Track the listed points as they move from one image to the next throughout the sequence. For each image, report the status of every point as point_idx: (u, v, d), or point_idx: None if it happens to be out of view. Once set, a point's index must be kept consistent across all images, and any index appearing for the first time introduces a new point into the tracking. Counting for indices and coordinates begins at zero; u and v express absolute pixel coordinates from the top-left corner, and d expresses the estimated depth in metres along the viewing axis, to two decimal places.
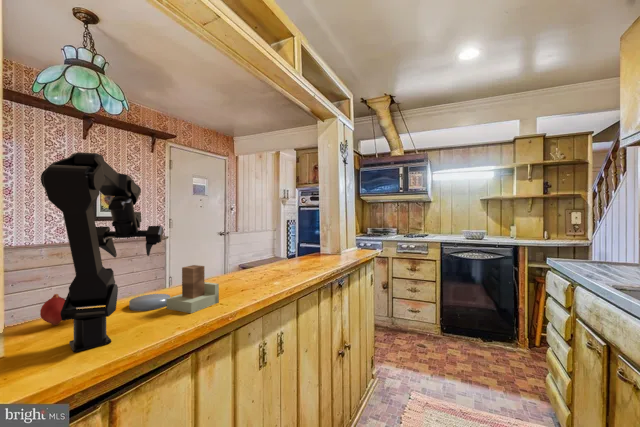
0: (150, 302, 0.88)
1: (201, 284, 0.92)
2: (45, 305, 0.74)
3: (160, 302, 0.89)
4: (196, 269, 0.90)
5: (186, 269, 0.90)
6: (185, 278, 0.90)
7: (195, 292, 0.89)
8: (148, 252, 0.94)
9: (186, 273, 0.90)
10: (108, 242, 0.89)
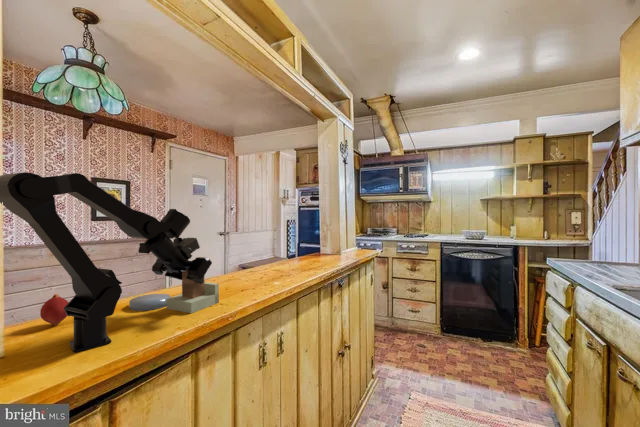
0: (150, 302, 0.88)
1: (201, 284, 0.92)
2: (45, 305, 0.74)
3: (160, 302, 0.89)
4: None
5: None
6: (185, 278, 0.90)
7: (195, 292, 0.89)
8: (197, 282, 0.90)
9: (186, 273, 0.90)
10: (175, 271, 0.89)
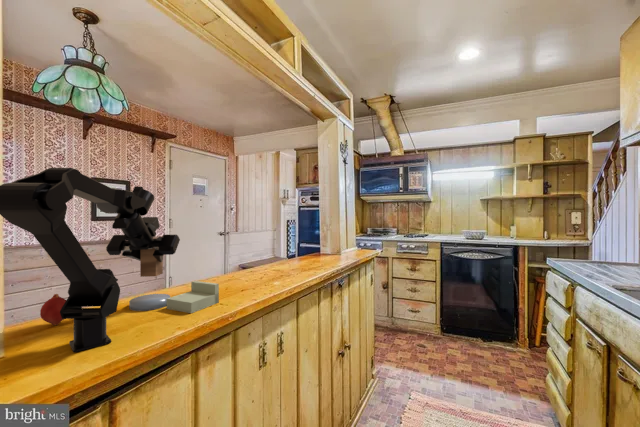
0: (150, 302, 0.88)
1: (160, 263, 0.93)
2: (45, 305, 0.74)
3: (160, 302, 0.89)
4: None
5: None
6: (145, 257, 0.90)
7: (156, 270, 0.91)
8: (159, 260, 0.91)
9: (146, 252, 0.90)
10: (134, 251, 0.88)
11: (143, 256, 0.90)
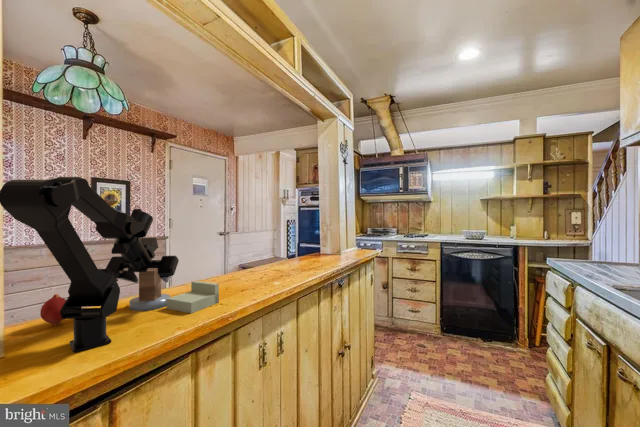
0: (150, 302, 0.88)
1: (159, 286, 0.93)
2: (45, 305, 0.74)
3: (160, 302, 0.89)
4: (156, 271, 0.91)
5: (145, 272, 0.90)
6: (143, 281, 0.90)
7: (155, 294, 0.91)
8: (165, 280, 0.91)
9: (145, 276, 0.90)
10: (125, 273, 0.88)
11: (142, 280, 0.90)
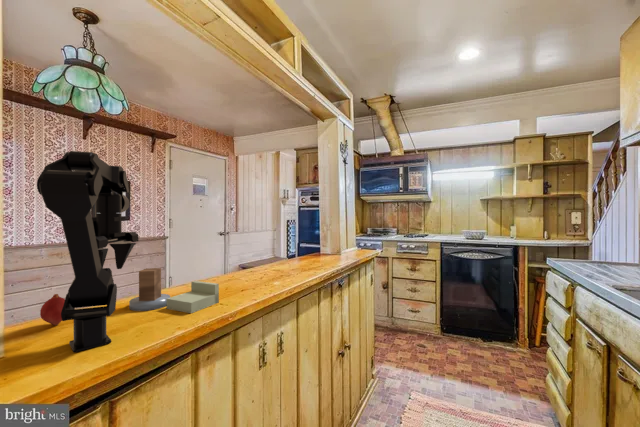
0: (150, 302, 0.88)
1: (159, 286, 0.93)
2: (45, 305, 0.74)
3: (160, 302, 0.89)
4: (156, 271, 0.91)
5: (145, 272, 0.90)
6: (143, 281, 0.90)
7: (155, 294, 0.91)
8: (125, 260, 0.84)
9: (145, 276, 0.90)
10: None
11: (142, 280, 0.90)
